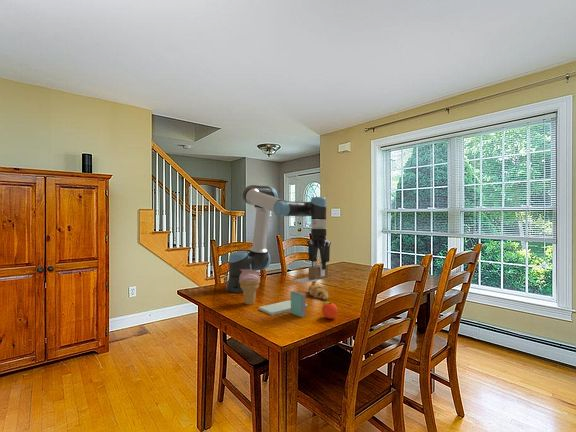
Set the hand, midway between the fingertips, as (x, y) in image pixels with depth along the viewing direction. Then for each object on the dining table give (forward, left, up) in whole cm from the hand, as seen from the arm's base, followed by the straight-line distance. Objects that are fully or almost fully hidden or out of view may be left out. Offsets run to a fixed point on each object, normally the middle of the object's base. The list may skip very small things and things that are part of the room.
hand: (318, 275), depth 151 cm
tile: (+1, -15, -16) cm, 22 cm away
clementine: (+13, -7, -16) cm, 22 cm away
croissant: (-16, +15, -17) cm, 28 cm away
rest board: (-11, -14, -16) cm, 24 cm away
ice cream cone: (-28, -23, -16) cm, 39 cm away
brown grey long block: (0, -5, -2) cm, 5 cm away
